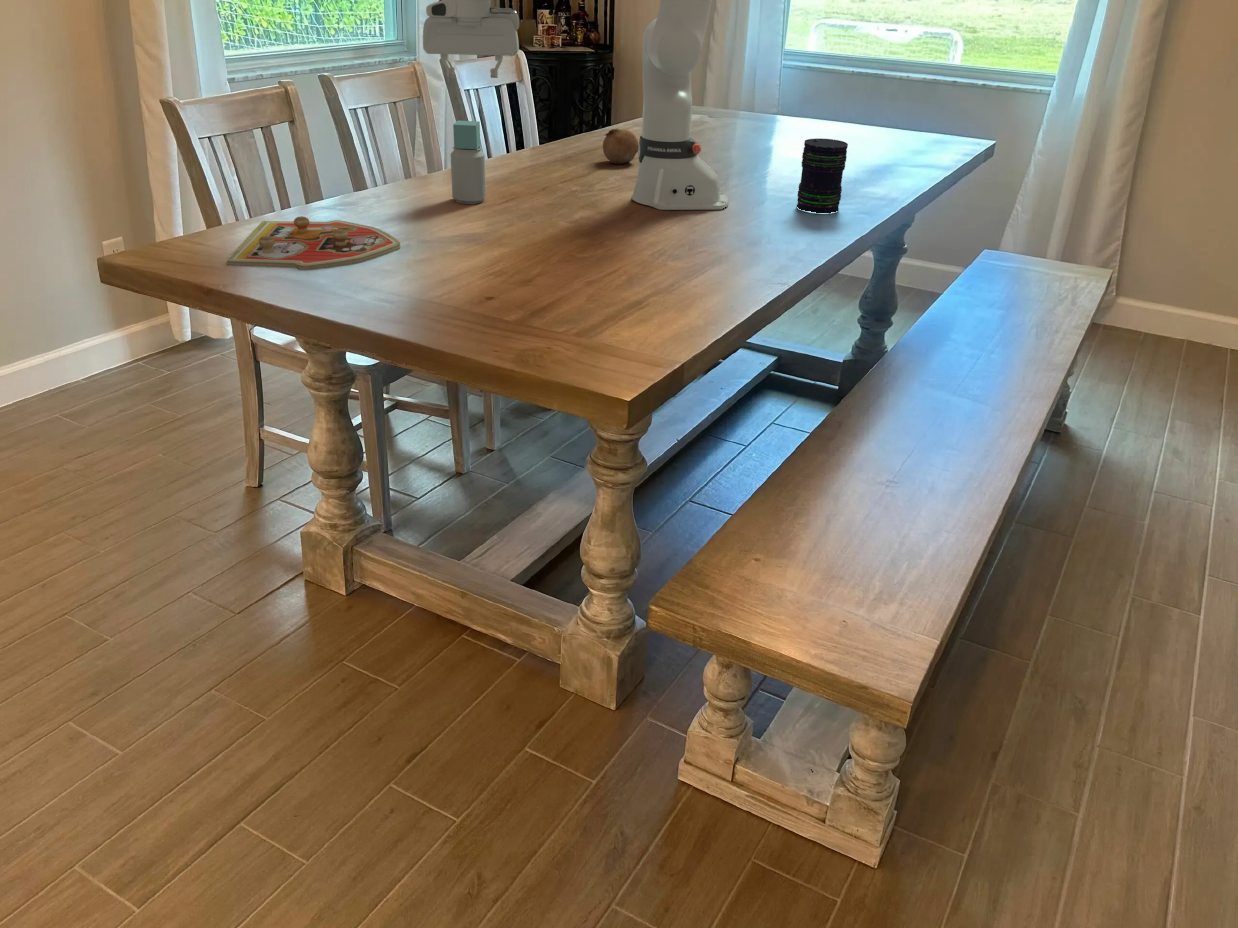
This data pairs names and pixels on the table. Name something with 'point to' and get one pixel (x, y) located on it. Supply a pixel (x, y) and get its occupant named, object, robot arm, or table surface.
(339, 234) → the knob puzzle
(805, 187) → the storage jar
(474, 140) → the teal block
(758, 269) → the table surface
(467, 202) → the can
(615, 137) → the onion
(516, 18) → the robot arm
